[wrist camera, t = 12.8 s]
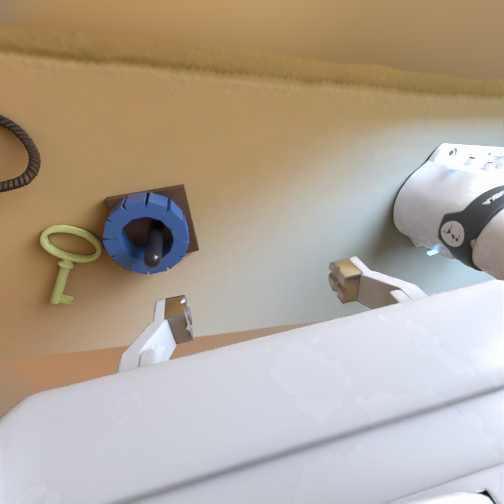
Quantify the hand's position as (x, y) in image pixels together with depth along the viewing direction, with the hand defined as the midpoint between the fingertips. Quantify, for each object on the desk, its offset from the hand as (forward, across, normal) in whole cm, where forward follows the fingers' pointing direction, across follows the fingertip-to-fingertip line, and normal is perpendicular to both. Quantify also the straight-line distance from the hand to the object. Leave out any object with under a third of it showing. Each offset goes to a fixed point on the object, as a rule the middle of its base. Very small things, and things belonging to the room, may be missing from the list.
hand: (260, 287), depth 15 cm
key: (+27, +22, +10) cm, 36 cm away
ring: (+26, +10, +7) cm, 28 cm away
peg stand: (+27, +10, +7) cm, 29 cm away
